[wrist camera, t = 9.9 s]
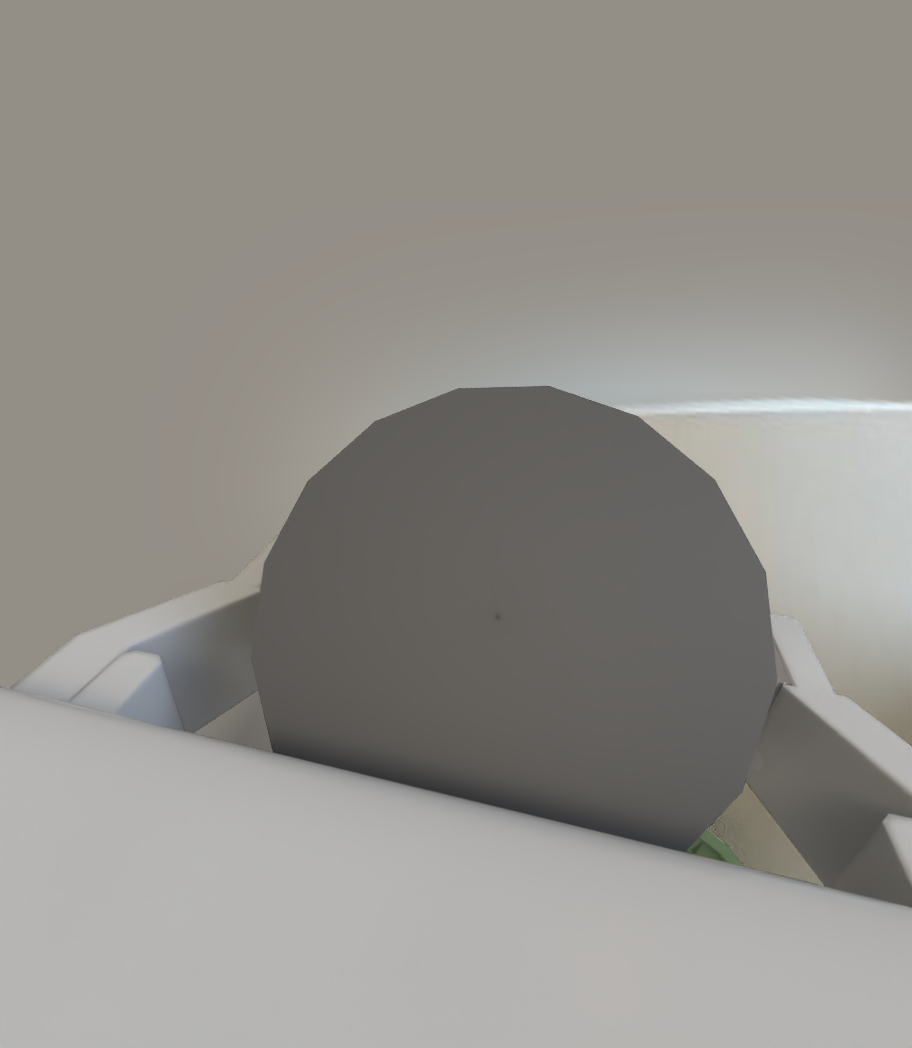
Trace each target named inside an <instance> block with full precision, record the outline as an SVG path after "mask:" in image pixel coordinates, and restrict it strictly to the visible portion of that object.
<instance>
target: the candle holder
mask: <svg viewBox="0 0 912 1048" xmlns="http://www.w3.org/2000/svg"><path fill="white" fill-rule="evenodd" d="M251 662H252V666H253V670H254V674H255V679H256V683H257V687H258V691H259V696H260V700H261V704H262V708H263V712H264V717H265V721H266V725H267V729H268V733H269V737H270V741H271V746H272V750H273V752H274V753H278V754H282V755H286V756H290V757H294V758H298V759H302V760H307V761H311V762H315V763H319V764H323V765H327V766H331V767H335V768H340V769H344V770H348V771H352V772H356V773H360V774H364V775H368V776H372V777H377V778H381V779H385V780H389V781H393V782H397V783H401V784H405V785H410V786H414V787H418V788H422V789H426V790H430V791H434V792H438V793H443V794H447V795H451V796H455V797H459V798H463V799H467V800H471V801H476V802H480V803H484V804H488V805H492V806H496V807H500V808H504V809H508V810H513V811H517V812H521V813H525V814H529V815H533V816H537V817H541V818H546V819H550V820H554V821H558V822H562V823H566V824H570V825H574V826H579V827H583V828H587V829H591V830H595V831H599V832H603V833H607V834H612V835H616V836H620V837H624V838H628V839H632V840H636V841H640V842H645V843H649V844H653V845H657V846H661V847H665V848H669V849H673V850H678V851H682V852H686V851H687V849H688V848H689V847H690V846H691V845H692V844H693V843H694V842H695V841H696V840H697V839H698V838H699V837H700V836H701V835H702V834H703V833H704V832H705V831H706V829H707V828H708V827H709V826H710V825H711V824H712V823H713V822H714V821H715V820H716V819H717V818H718V817H719V816H720V815H721V814H722V813H723V812H724V810H725V809H726V808H727V807H728V806H729V805H730V804H731V803H732V802H733V801H734V800H735V799H736V798H737V797H738V796H739V795H740V794H741V793H742V791H743V788H744V784H745V781H746V778H747V775H748V772H749V769H750V766H751V763H752V760H753V757H754V754H755V751H756V747H757V744H758V741H759V738H760V735H761V732H762V729H763V726H764V723H765V720H766V717H767V714H768V710H769V707H770V704H771V701H772V698H773V695H774V692H775V689H776V686H777V683H778V681H777V672H776V663H775V654H774V644H773V635H772V626H771V617H770V607H769V598H768V589H767V580H766V572H765V570H764V568H763V566H762V564H761V563H760V561H759V559H758V557H757V555H756V554H755V552H754V550H753V548H752V546H751V545H750V543H749V541H748V539H747V537H746V535H745V534H744V532H743V530H742V528H741V526H740V525H739V523H738V521H737V519H736V517H735V515H734V514H733V512H732V510H731V508H730V506H729V505H728V503H727V501H726V499H725V497H724V496H723V494H722V492H721V490H720V488H719V486H718V485H717V483H716V481H715V480H714V479H713V478H712V477H711V476H710V475H708V474H707V473H706V472H705V471H704V470H702V469H701V468H700V467H699V466H698V465H696V464H695V463H694V462H693V461H691V460H690V459H689V458H688V457H687V456H685V455H684V454H683V453H682V452H681V451H679V450H678V449H677V448H676V447H675V446H673V445H672V444H671V443H670V442H669V441H667V440H666V439H665V438H664V437H662V436H661V435H660V434H659V433H658V432H656V431H655V430H654V429H653V428H652V427H650V426H649V425H648V424H647V423H646V422H644V421H643V420H642V419H641V418H639V417H638V416H635V415H633V414H630V413H627V412H624V411H621V410H618V409H615V408H612V407H609V406H606V405H603V404H600V403H597V402H594V401H591V400H588V399H585V398H582V397H580V396H577V395H574V394H571V393H568V392H565V391H562V390H559V389H556V388H553V387H550V386H533V387H532V386H531V387H498V388H497V387H494V388H458V389H455V390H453V391H450V392H448V393H446V394H443V395H440V396H438V397H435V398H433V399H430V400H428V401H425V402H423V403H420V404H418V405H415V406H413V407H410V408H407V409H405V410H402V411H400V412H398V413H395V414H392V415H390V416H387V417H385V418H382V419H380V420H377V421H375V422H374V423H373V424H372V425H371V426H369V427H368V428H367V429H366V430H365V431H364V432H362V434H360V435H359V436H358V437H357V438H356V439H355V440H354V441H352V442H351V443H350V444H349V445H348V446H347V447H346V448H345V449H343V450H342V451H341V452H340V453H339V454H338V455H337V456H336V457H334V458H333V459H332V460H331V461H330V462H329V463H328V464H327V465H325V466H324V467H323V468H322V469H321V470H320V471H319V472H318V473H317V474H315V475H314V476H313V477H312V478H311V479H310V480H309V481H308V482H307V484H306V485H305V487H304V489H303V491H302V493H301V495H300V497H299V499H298V500H297V502H296V504H295V506H294V508H293V510H292V512H291V513H290V515H289V517H288V519H287V521H286V523H285V525H284V526H283V528H282V530H281V532H280V534H279V536H278V538H277V539H276V541H275V543H274V545H273V547H272V549H271V551H270V552H269V554H268V556H267V558H266V560H265V562H264V566H263V574H262V581H261V588H260V596H259V603H258V610H257V618H256V625H255V632H254V640H253V647H252V654H251Z"/></svg>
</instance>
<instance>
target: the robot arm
mask: <svg viewBox="0 0 912 1048" xmlns="http://www.w3.org/2000/svg"><path fill="white" fill-rule="evenodd" d="M278 536H279V535H277V536H276V537H275V538H274V539H273V540H272V541H271V542H270V543H269V544H268V545H267V546H266V547H265V548H264V549H263V550H262V551H261V552H260V553H259V554H258V555H257V556H256V557H255V558H254V559H253V560H252V561H251V562H250V563H249V564H248V565H247V566H246V567H245V568H244V569H243V570H242V571H241V572H240V573H239V574H238V575H237V576H236V577H235V578H234V579H233V580H232V581H231V582H227V581H220V582H217V583H214V584H212V585H209V586H206V587H204V588H201V589H198V590H195V591H193V592H190V593H187V594H185V595H182V596H179V597H176V598H174V599H171V600H168V601H166V602H163V603H160V604H158V605H155V606H152V607H149V608H147V609H144V610H141V611H138V612H136V613H133V614H131V615H128V616H125V617H122V618H119V619H117V620H114V621H111V622H109V623H106V624H103V625H100V626H98V627H96V628H92V629H90V630H87V631H84V632H82V633H79V634H76V635H75V636H74V637H73V638H71V639H70V640H69V641H67V642H66V643H65V644H64V645H62V646H61V647H60V648H59V649H57V650H56V651H55V652H54V653H53V654H51V655H50V656H49V657H47V658H46V659H45V660H44V661H42V662H41V663H40V664H39V665H38V666H36V667H35V668H34V669H33V670H31V671H30V672H29V673H28V674H27V675H25V676H24V677H23V678H21V679H20V680H19V681H18V682H17V683H15V684H14V685H13V686H11V688H5V687H1V686H0V1048H912V746H911V745H909V744H908V743H907V742H905V741H904V740H903V739H901V738H900V737H899V736H898V735H896V734H895V733H894V732H892V731H891V730H890V729H889V728H887V727H886V726H885V725H883V724H882V723H881V722H879V721H878V720H877V719H876V718H874V717H873V716H872V715H870V714H869V713H868V712H866V711H865V710H864V709H863V708H861V707H860V706H859V705H857V704H856V703H855V702H854V701H852V700H851V699H850V698H848V697H847V696H843V695H837V694H835V692H834V690H833V688H832V686H831V684H830V682H829V680H828V678H827V676H826V674H825V672H824V671H823V669H822V667H821V665H820V663H819V661H818V659H817V657H816V655H815V653H814V651H813V649H812V647H811V645H810V643H809V641H808V639H807V637H806V635H805V633H804V631H803V629H802V627H801V625H800V623H799V621H797V620H796V619H795V618H793V617H789V616H782V615H775V614H770V617H771V626H772V635H773V644H774V654H775V663H776V672H777V681H778V683H777V686H776V689H775V692H774V695H773V698H772V701H771V704H770V707H769V710H768V714H767V717H766V720H765V723H764V726H763V729H762V732H761V735H760V738H759V741H758V744H757V747H756V751H755V754H754V757H753V760H752V763H751V766H750V769H749V772H748V775H747V778H746V781H745V782H746V783H747V784H748V786H749V787H750V788H751V789H752V791H753V792H754V793H755V795H756V796H757V797H758V799H759V800H760V801H761V803H762V804H763V805H764V807H765V808H766V809H767V810H768V812H769V813H770V814H771V816H772V817H773V818H774V820H775V821H776V822H777V824H778V825H779V826H780V828H781V829H782V830H783V832H784V833H785V834H786V835H787V837H788V838H789V839H790V841H791V842H792V843H793V845H794V846H795V847H796V849H797V850H798V851H799V853H800V854H801V855H802V856H803V858H804V859H805V860H806V862H807V863H808V864H809V866H810V867H811V868H812V870H813V871H814V872H815V874H816V875H817V876H818V878H819V879H820V880H821V881H822V883H823V884H824V885H825V886H822V885H818V884H813V883H809V882H805V881H801V880H797V879H793V878H789V877H785V876H781V875H776V874H772V873H768V872H764V871H760V870H756V869H752V868H748V867H743V866H739V865H735V864H731V863H727V862H723V861H719V860H715V859H710V858H706V857H702V856H698V855H694V854H690V853H686V852H682V851H678V850H673V849H669V848H665V847H661V846H657V845H653V844H649V843H645V842H640V841H636V840H632V839H628V838H624V837H620V836H616V835H612V834H607V833H603V832H599V831H595V830H591V829H587V828H583V827H579V826H574V825H570V824H566V823H562V822H558V821H554V820H550V819H546V818H541V817H537V816H533V815H529V814H525V813H521V812H517V811H513V810H508V809H504V808H500V807H496V806H492V805H488V804H484V803H480V802H476V801H471V800H467V799H463V798H459V797H455V796H451V795H447V794H443V793H438V792H434V791H430V790H426V789H422V788H418V787H414V786H410V785H405V784H401V783H397V782H393V781H389V780H385V779H381V778H377V777H372V776H368V775H364V774H360V773H356V772H352V771H348V770H344V769H340V768H335V767H331V766H327V765H323V764H319V763H315V762H311V761H307V760H302V759H298V758H294V757H290V756H286V755H282V754H278V753H274V752H269V751H265V750H261V749H257V748H253V747H249V746H245V745H241V744H236V743H232V742H228V741H224V740H220V739H215V738H212V737H207V736H203V735H199V734H195V733H194V732H196V731H197V730H199V729H200V728H202V727H203V726H205V725H206V724H208V723H209V722H211V721H212V720H214V719H216V718H217V717H218V716H220V715H221V714H223V713H225V712H226V711H228V710H229V709H231V708H232V707H234V706H235V705H237V704H238V703H240V702H241V701H243V700H244V699H246V698H247V697H249V696H250V695H252V694H253V693H255V692H256V691H258V687H257V683H256V679H255V674H254V670H253V666H252V662H251V654H252V647H253V640H254V632H255V625H256V618H257V610H258V603H259V596H260V588H261V581H262V574H263V566H264V562H265V560H266V558H267V556H268V554H269V552H270V551H271V549H272V547H273V545H274V543H275V541H276V539H277V538H278Z"/></svg>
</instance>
